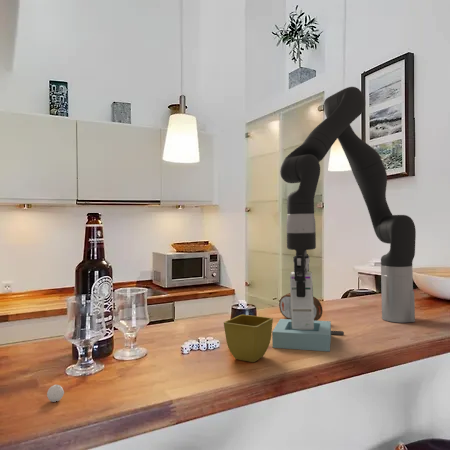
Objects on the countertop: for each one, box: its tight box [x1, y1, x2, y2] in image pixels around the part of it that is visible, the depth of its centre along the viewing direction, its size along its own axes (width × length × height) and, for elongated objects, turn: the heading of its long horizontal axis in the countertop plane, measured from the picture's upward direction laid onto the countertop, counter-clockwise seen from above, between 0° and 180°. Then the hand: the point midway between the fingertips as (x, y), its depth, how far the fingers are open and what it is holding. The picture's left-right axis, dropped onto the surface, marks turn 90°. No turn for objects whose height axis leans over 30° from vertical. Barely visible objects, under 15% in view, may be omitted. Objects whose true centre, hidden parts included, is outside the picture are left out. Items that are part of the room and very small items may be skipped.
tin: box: [278, 292, 324, 321], centre depth 128 cm, size 15×3×8 cm, turn 47°
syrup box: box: [289, 271, 314, 330], centre depth 106 cm, size 6×6×14 cm
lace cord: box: [331, 330, 345, 336], centre depth 113 cm, size 19×1×1 cm, turn 74°
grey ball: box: [46, 384, 65, 403], centre depth 72 cm, size 3×3×3 cm
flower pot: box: [223, 314, 274, 363], centre depth 93 cm, size 9×9×9 cm
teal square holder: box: [271, 318, 332, 352], centre depth 106 cm, size 14×14×4 cm
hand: (302, 294), depth 106 cm, fingers closed on syrup box, 6 cm apart
